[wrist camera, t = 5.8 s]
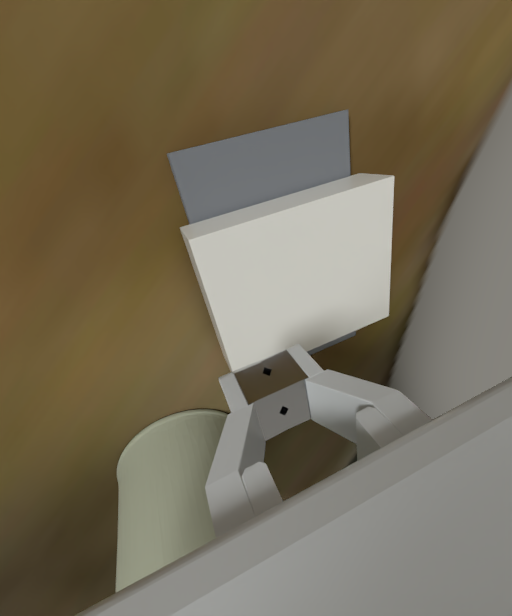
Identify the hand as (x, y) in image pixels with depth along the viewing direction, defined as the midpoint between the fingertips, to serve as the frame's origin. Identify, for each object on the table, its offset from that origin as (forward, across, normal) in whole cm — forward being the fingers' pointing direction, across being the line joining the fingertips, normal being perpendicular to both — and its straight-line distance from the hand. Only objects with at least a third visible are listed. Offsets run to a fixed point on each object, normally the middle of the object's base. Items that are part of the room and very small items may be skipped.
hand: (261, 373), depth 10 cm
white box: (+6, +1, 0) cm, 6 cm away
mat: (+8, -4, 0) cm, 9 cm away
